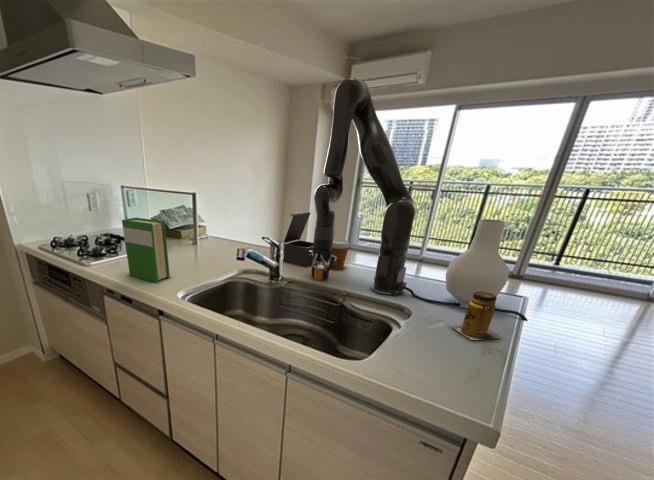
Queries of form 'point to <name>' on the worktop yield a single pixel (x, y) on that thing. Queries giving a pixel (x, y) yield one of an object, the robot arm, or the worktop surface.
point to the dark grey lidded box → (297, 252)
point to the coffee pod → (319, 272)
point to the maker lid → (296, 226)
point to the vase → (479, 265)
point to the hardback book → (146, 248)
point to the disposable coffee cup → (340, 252)
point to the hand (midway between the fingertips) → (319, 277)
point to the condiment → (479, 317)
